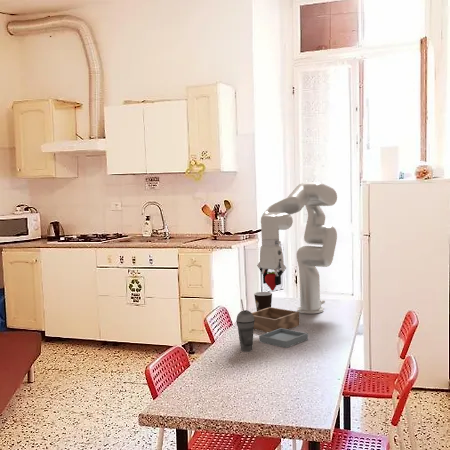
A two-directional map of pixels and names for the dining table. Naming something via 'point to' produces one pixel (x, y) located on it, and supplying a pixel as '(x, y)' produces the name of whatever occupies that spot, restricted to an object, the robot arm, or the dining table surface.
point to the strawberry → (270, 280)
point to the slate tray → (283, 337)
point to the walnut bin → (275, 319)
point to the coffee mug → (263, 300)
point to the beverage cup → (245, 329)
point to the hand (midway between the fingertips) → (272, 283)
